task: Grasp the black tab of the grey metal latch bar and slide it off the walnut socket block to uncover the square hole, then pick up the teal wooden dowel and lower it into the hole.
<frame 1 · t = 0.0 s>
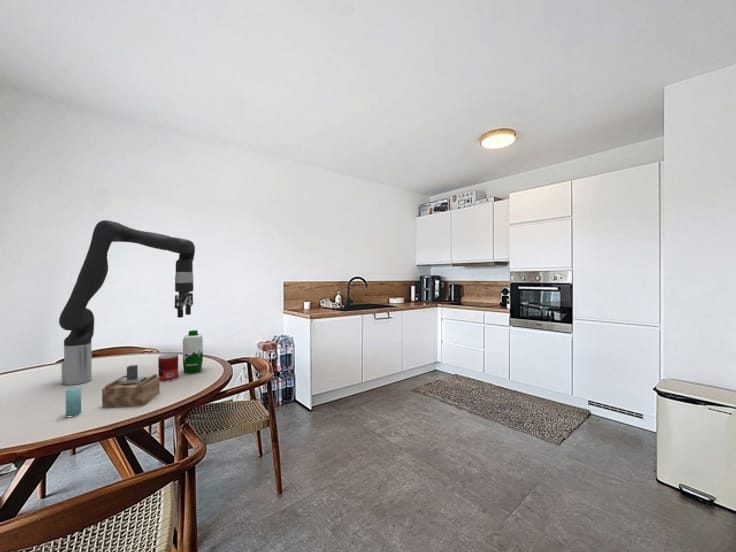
hand: (184, 316, 151), 29 cm above the table, tool pointing down, fingers open, 8 cm apart
dowel: (73, 414, 113), on the table
socket block: (132, 400, 125), on the table
milk carton: (192, 371, 161), on the table
canned food: (168, 379, 150), on the table
latch bar: (132, 373, 125), point 10 cm above the table, slide at 0.0 cm
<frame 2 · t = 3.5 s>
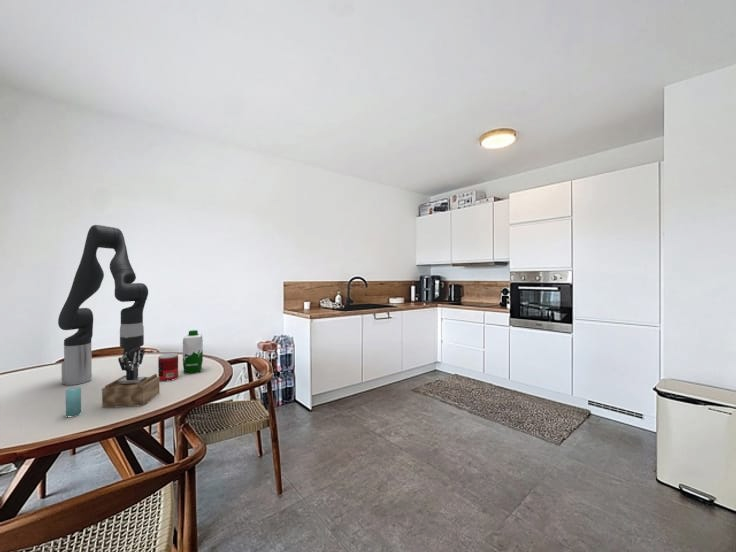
hand: (132, 378, 125), 9 cm above the table, tool pointing down, fingers closed on latch bar, 2 cm apart
latch bar: (132, 373, 125), point 10 cm above the table, slide at 0.0 cm, touching gripper
everything else where it was.
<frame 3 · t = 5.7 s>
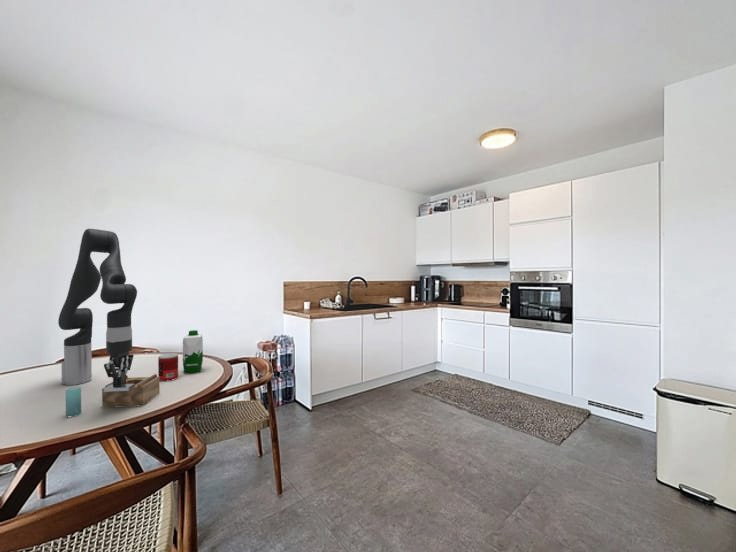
hand: (119, 385, 118), 9 cm above the table, tool pointing down, fingers closed on latch bar, 2 cm apart
latch bar: (119, 380, 118), point 10 cm above the table, slide at 7.8 cm, touching gripper
everything else where it was.
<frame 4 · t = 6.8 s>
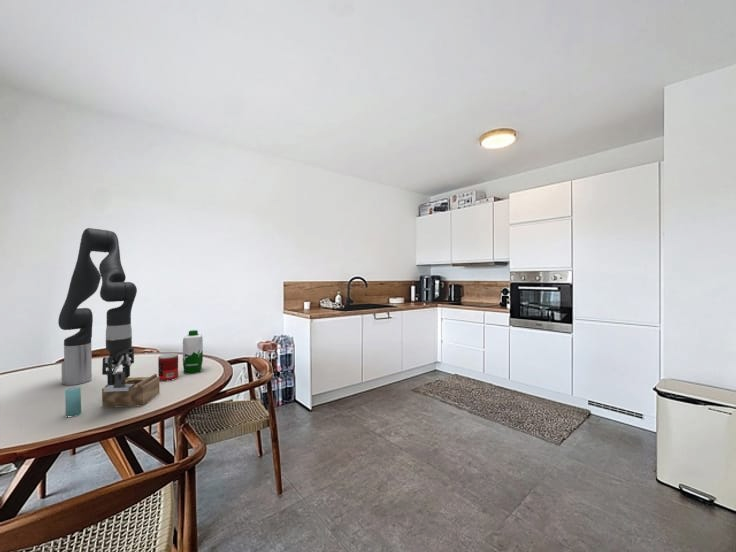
hand: (119, 380, 117), 10 cm above the table, tool pointing down, fingers open, 8 cm apart
latch bar: (119, 380, 117), point 10 cm above the table, slide at 7.9 cm
everything else where it was.
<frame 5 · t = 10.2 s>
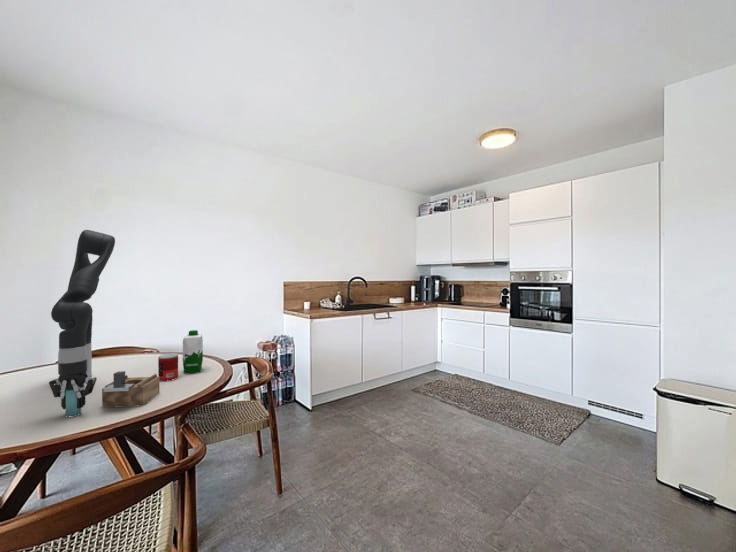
hand: (73, 407, 113), 2 cm above the table, tool pointing down, fingers closed on dowel, 4 cm apart
dowel: (73, 414, 113), on the table, touching gripper
everything else where it was.
when the fingers open (8 cm above the table, at t = 15.0 s): dowel drops 6 cm, resting in socket block.
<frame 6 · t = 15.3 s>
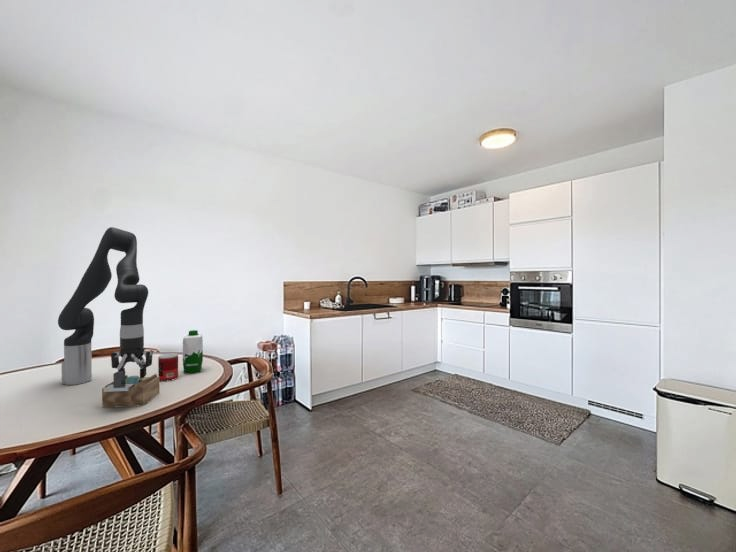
hand: (132, 377, 125), 9 cm above the table, tool pointing down, fingers open, 6 cm apart
dowel: (132, 400, 125), resting in socket block
everything else where it was.
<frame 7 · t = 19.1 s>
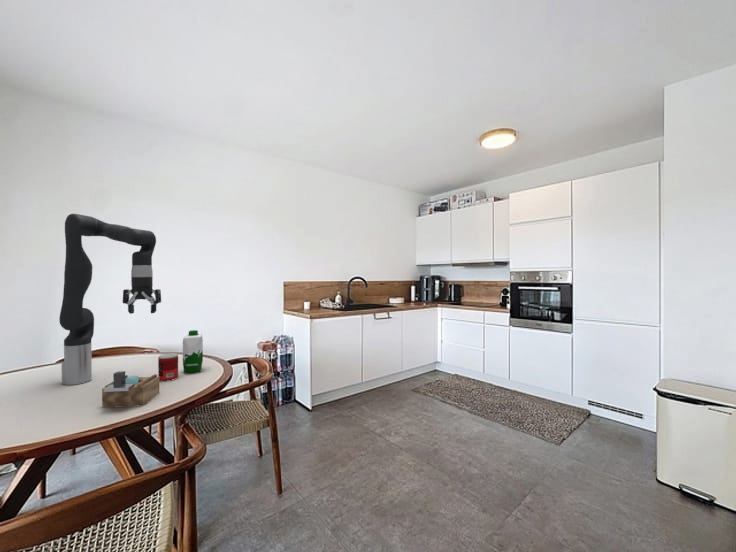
hand: (142, 313, 139), 32 cm above the table, tool pointing down, fingers open, 8 cm apart
nothing on the table moved.
at the end: latch bar slide at 7.9 cm; dowel 0.0 cm off-centre on the socket block, point 0.0 cm above the socket block's base; the gripper is holding nothing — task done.
